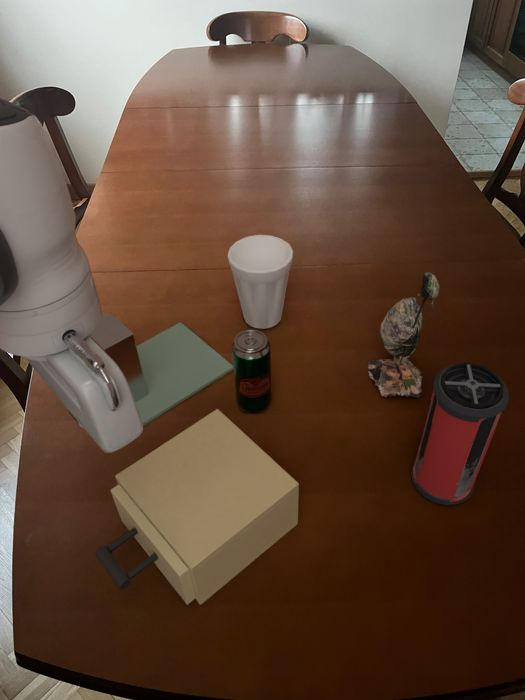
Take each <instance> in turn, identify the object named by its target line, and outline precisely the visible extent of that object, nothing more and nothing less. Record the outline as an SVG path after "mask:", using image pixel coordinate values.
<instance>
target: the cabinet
mask: <svg viewBox="0 0 525 700" xmlns="http://www.w3.org/2000/svg"><path fill="white" fill-rule="evenodd" d="M114 477H115V480H116V483H117V485H118V484H120V485H121V487H122V488H123V489H124V490H125V491H126V493H127V494H128V495H129V496H130V498H131V499H132V500H133V501H134V502H135V504H136V505H137V506H138V507H139V509H140V510H141V511H142V512H143V513H144V515H145V516H146V517H147V518H148V519H149V521H150V522H152V524H153V526H154V527H155V528H156V529H157V530H158V532H159V533H161V535H162V537H163V538H164V539H165V540H166V541H167V543H168V544H169V545H170V546H171V548H172V549H173V550H175V552H176V554H177V555H178V556H179V557H180V558H181V560H182V561H184V563H185V565H186V566H187V567H188V568H189V571H190V575H191V579H192V583H193V588H194V592H195V596H196V598H195V599H194V600H196V602H197V603H198V604H199V605H200V606H201V605H202V604H204V603H205V602H207V600H209V599H210V598H211V597H212V596H213V595H214V594H216V593H217V592H218V591H220V590H221V589H222V588H223V587H224V586H226V585H227V584H228V583H229V582H230V581H231V580H232V579H234V578H235V577H236V576H238V575H239V574H240V573H241V572H242V571H244V570H245V569H246V568H247V567H248V566H249V565H250V564H252V563H253V562H254V561H255V560H256V559H258V558H259V557H260V556H261V555H262V554H264V553H266V551H267V550H268V549H270V548H271V547H272V546H273V545H275V544H276V543H277V542H278V541H279V540H280V539H281V538H283V537H284V536H286V535H287V534H288V533H289V532H290V531H291V530H292V529H294V528H295V527H296V526H297V525H298V524H299V496H300V495H299V491H300V488H299V487H300V484H299V483H300V482H298V481H297V480H295V478H294V477H292V476H291V474H289V473H288V472H287V471H286V470H285V469H284V468H282V467H281V465H279V464H278V462H276V461H275V460H274V459H273V458H272V457H271V456H270V455H268V453H266V452H265V451H264V450H263V449H262V448H261V447H259V445H258V444H257V443H255V442H254V441H253V440H252V439H251V438H250V437H249V436H248V435H246V433H244V431H242V429H241V428H239V427H238V426H237V425H236V424H235V423H234V422H233V421H231V419H230V418H228V416H226V415H225V414H224V413H223V412H222V411H221V410H219V409H218V408H216V409H215V410H213V411H212V412H210V413H209V414H207V415H205V416H204V417H202V418H201V419H199V420H198V421H196V422H195V423H193V424H192V425H190V426H188V427H187V428H186V429H184V430H183V431H181V432H180V433H178V434H177V435H175V436H174V437H172V438H170V439H169V440H167V441H166V442H165V443H163V444H162V445H160V446H158V447H157V448H156V449H154V450H152V451H150V452H149V453H148V454H146V455H145V456H143V457H142V458H140V459H139V460H137V461H135V462H133V463H132V464H131V465H129V466H128V467H126V468H124V469H123V470H121V471H120V472H119V473H117V474H115V475H114Z"/></svg>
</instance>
